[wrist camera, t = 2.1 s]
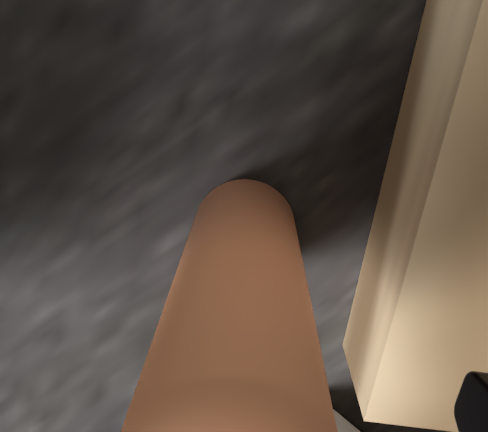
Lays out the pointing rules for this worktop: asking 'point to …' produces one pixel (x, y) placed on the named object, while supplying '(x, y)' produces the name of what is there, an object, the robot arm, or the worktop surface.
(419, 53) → the socket block
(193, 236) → the peg
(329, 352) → the worktop surface
